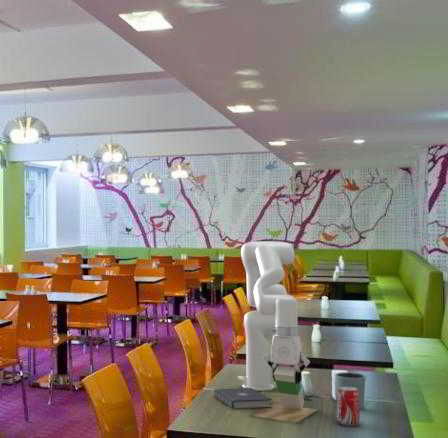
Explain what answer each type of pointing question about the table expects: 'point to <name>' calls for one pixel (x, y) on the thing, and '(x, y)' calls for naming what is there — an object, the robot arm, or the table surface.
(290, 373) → the packet
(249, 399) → the book
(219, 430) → the table surface
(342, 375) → the grey cup
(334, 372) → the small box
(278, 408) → the mat
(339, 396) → the soda can
